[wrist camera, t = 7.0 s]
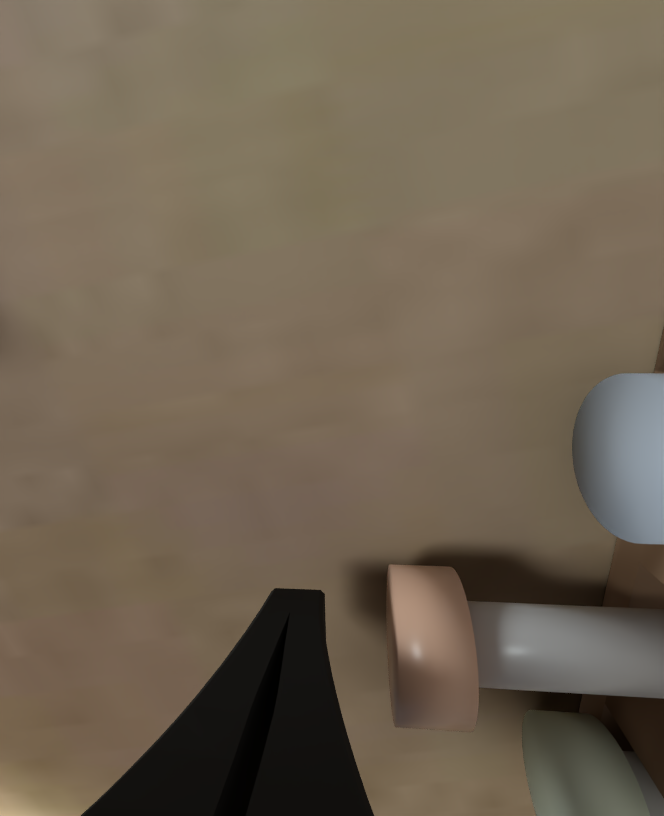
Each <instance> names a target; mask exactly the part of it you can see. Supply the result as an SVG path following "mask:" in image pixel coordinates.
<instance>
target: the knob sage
mask: <svg viewBox="0 0 664 816" xmlns="http://www.w3.org/2000/svg"><path fill="white" fill-rule="evenodd" d="M522 748H523V758H524V764H525V770H526V776H527V781H528V786H529V790H530V794H531V798H532V802H533V805H534V809H535V812H536V816H664V798H663V796H662V795H661V793H660V792H659V790H658V788H657V787H656V785H655V784H654V782H653V780H652V779H651V777H650V776H649V774H648V772H647V771H646V769H645V767H644V766H643V764H642V763H641V761H640V759H639V758H638V756H637V755H636V753H635V752H632V751H622V749H621V748H620V746H619V745H618V743H617V741H616V740H615V739H614V737H613V736H612V734H611V733H610V732H609V730H608V729H607V728H606V727H605V726H604V725H603V724H602V723H601V722H600V721H599V720H598V719H597V718H596V717H594V716H592V715H591V714H587V713H575V712H559V711H543V710H528V711H527V712H526V714H525V716H524V719H523V724H522Z"/></svg>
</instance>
